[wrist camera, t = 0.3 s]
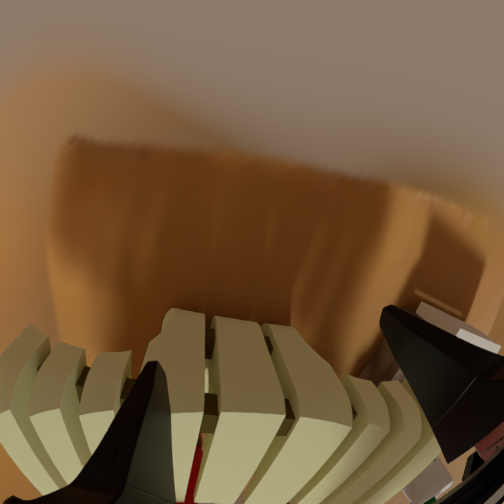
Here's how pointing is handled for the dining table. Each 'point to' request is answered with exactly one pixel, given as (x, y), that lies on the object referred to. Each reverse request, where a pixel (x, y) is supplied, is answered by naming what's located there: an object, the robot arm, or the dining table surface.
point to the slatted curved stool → (220, 414)
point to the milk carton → (428, 483)
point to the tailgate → (456, 327)
